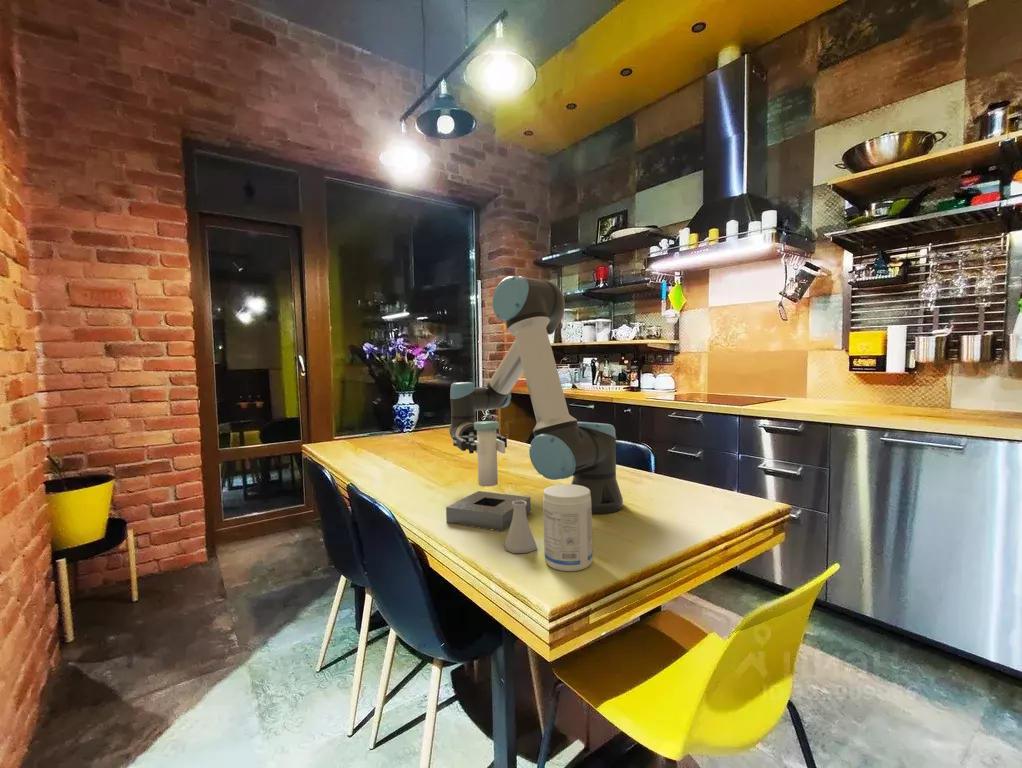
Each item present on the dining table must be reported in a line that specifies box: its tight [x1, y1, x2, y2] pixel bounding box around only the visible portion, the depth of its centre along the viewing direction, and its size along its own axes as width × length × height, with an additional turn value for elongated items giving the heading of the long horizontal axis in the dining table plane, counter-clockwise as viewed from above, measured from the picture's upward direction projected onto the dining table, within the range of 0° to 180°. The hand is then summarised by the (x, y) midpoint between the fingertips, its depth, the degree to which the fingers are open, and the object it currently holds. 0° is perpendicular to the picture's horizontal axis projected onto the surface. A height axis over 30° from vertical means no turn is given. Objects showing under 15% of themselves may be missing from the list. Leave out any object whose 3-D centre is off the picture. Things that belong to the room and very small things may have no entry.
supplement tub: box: [542, 483, 593, 572], centre depth 95 cm, size 10×10×15 cm
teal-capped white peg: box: [474, 420, 500, 487], centre depth 123 cm, size 6×6×16 cm
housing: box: [445, 490, 532, 532], centre depth 123 cm, size 16×16×4 cm
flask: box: [503, 500, 538, 554], centre depth 103 cm, size 7×7×10 cm
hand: (492, 448), depth 118 cm, fingers closed on teal-capped white peg, 5 cm apart
